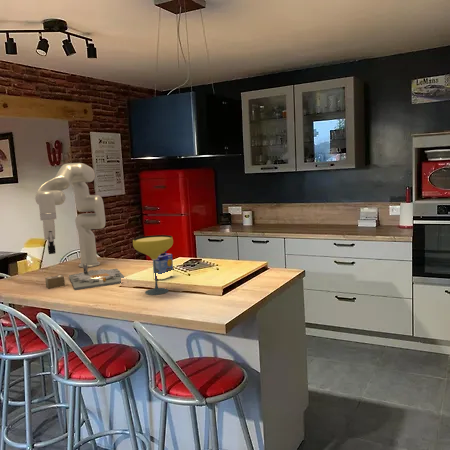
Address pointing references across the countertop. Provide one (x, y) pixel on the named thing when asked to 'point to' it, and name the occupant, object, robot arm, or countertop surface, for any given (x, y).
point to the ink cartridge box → (163, 263)
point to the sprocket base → (95, 282)
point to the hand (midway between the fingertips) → (52, 252)
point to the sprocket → (95, 275)
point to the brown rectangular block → (55, 281)
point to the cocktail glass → (153, 253)
